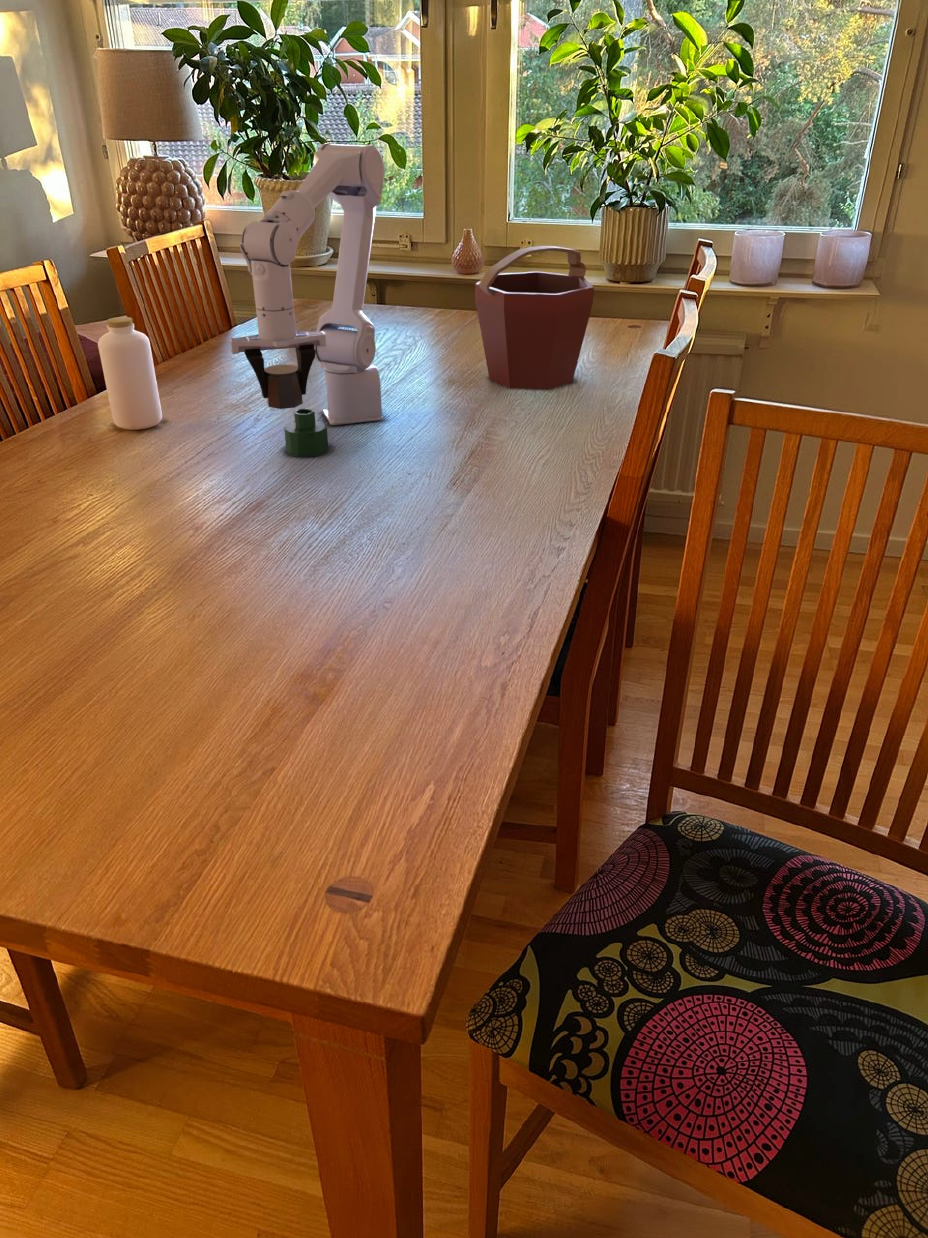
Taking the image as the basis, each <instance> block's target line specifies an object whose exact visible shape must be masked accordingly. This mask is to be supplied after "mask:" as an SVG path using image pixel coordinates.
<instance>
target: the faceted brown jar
mask: <svg viewBox="0 0 928 1238" xmlns="http://www.w3.org/2000/svg"><path fill="white" fill-rule="evenodd" d="M264 370H265V380H266V385H267V391H268V398H266V404H267V406H268V408H271V409H272V408H273V409H277V410H283V409H284V410H285V409H293V408H297V407H298V406H301V405H303V403H304V402H303V395H302V392H301V379H300V372H299V368H298V365H294V364H285V363H284V364H274V365H269V366H267V367H264Z"/></svg>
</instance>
